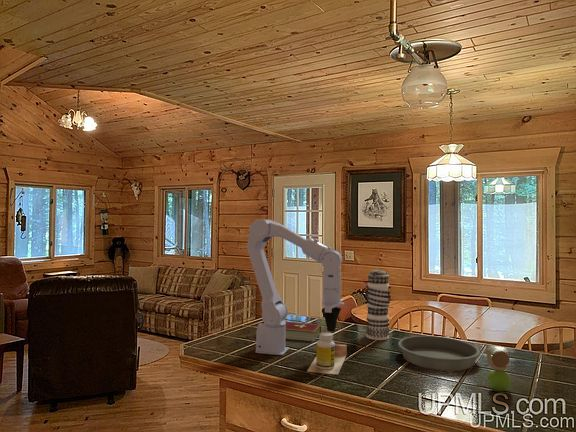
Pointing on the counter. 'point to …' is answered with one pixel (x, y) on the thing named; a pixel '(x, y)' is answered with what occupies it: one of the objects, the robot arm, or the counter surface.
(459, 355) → the cake pan
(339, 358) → the strip
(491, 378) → the snail figurine
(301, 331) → the hardcover book
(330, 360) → the supplement bottle
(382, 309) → the decorative candle
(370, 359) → the counter surface
